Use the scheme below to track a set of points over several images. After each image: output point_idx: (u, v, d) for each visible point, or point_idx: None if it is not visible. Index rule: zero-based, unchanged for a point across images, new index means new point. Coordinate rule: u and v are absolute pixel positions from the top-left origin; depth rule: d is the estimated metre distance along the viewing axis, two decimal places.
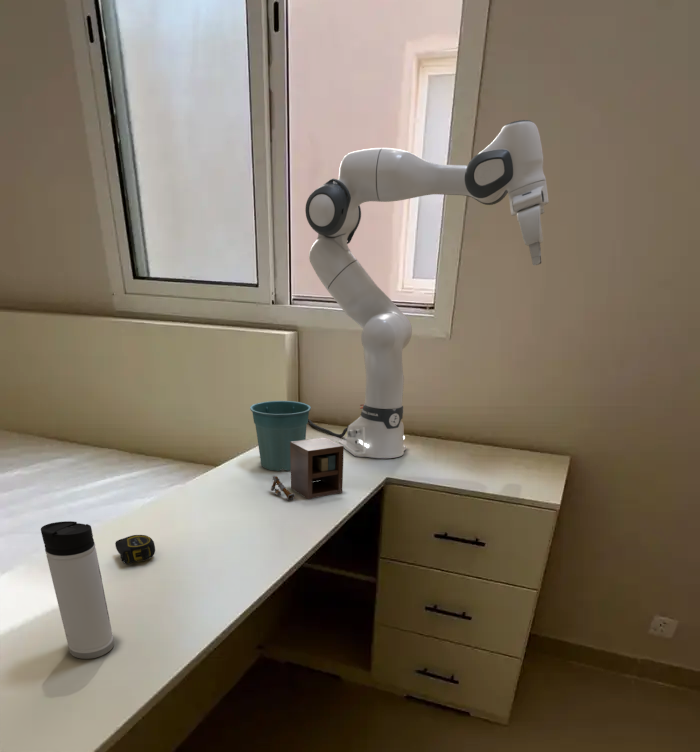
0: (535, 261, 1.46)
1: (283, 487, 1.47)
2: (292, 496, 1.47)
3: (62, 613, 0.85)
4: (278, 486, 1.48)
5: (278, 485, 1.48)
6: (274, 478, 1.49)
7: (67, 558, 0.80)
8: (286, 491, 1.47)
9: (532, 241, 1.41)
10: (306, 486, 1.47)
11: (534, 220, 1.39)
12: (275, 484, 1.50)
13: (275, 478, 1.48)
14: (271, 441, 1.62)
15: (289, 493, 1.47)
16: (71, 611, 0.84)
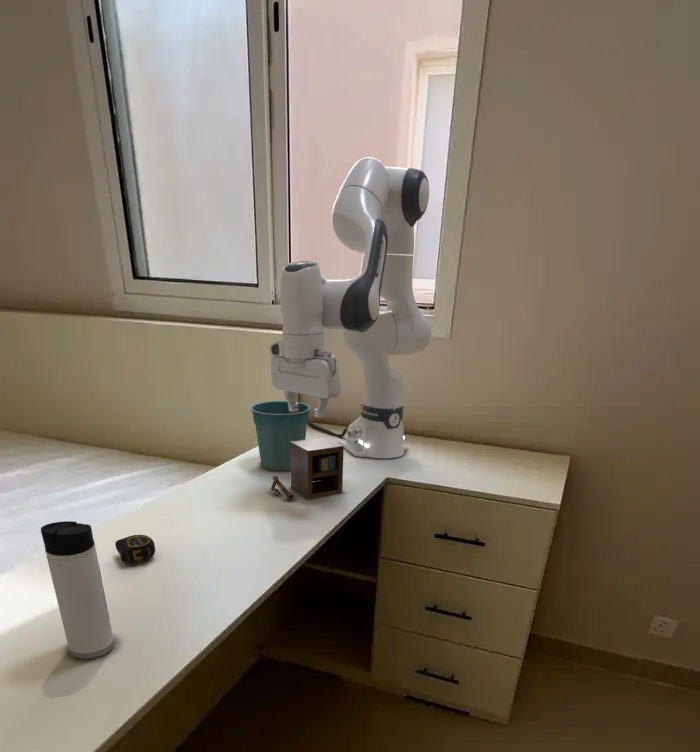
0: None
1: (283, 487, 1.47)
2: (292, 496, 1.47)
3: (62, 613, 0.85)
4: (278, 486, 1.48)
5: (278, 485, 1.48)
6: (274, 478, 1.49)
7: (67, 558, 0.80)
8: (286, 491, 1.47)
9: None
10: (306, 486, 1.47)
11: None
12: (275, 484, 1.50)
13: (275, 478, 1.48)
14: (271, 441, 1.62)
15: (289, 493, 1.47)
16: (71, 611, 0.84)
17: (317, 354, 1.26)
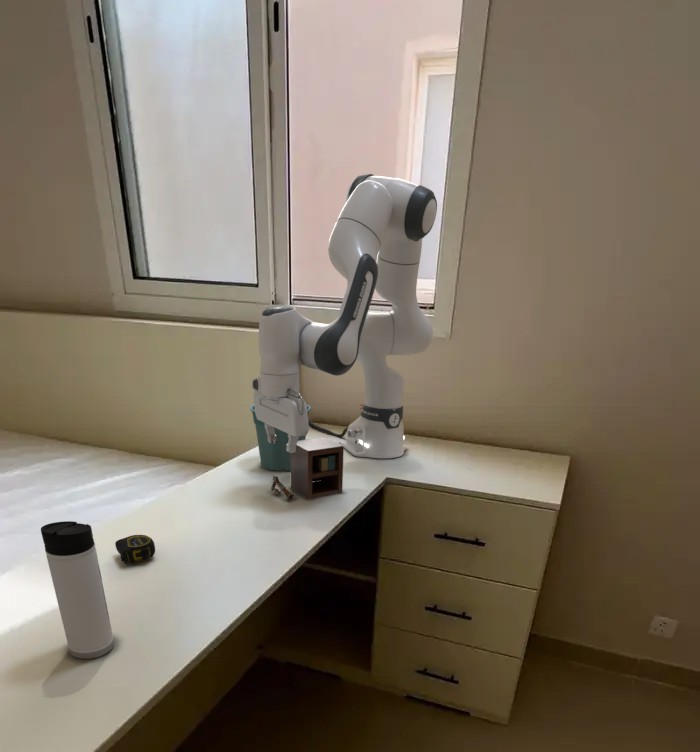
0: None
1: (283, 487, 1.47)
2: (292, 496, 1.47)
3: (62, 613, 0.85)
4: (278, 486, 1.48)
5: (278, 485, 1.48)
6: (274, 478, 1.49)
7: (67, 558, 0.80)
8: (286, 491, 1.47)
9: None
10: (306, 486, 1.47)
11: None
12: (275, 484, 1.50)
13: (275, 478, 1.48)
14: None
15: (289, 493, 1.47)
16: (71, 611, 0.84)
17: (289, 393, 1.32)
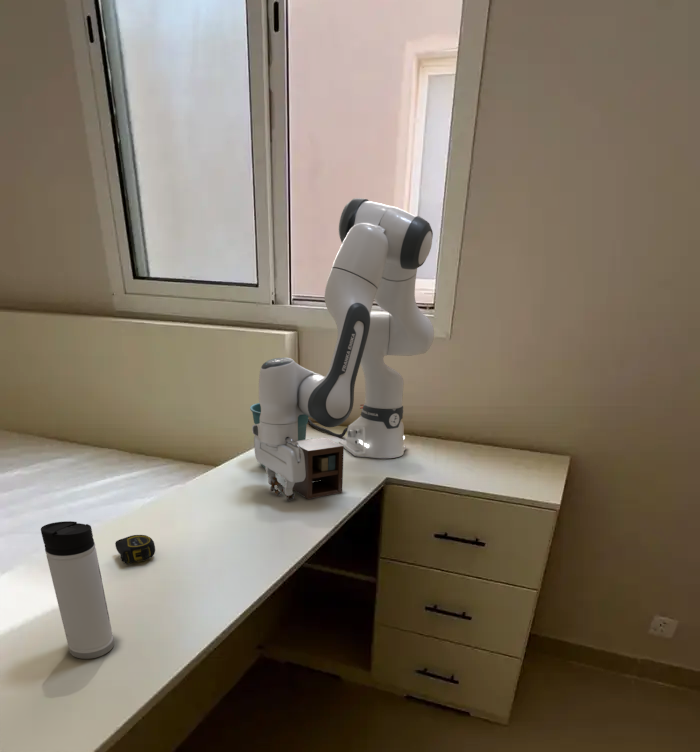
0: None
1: (282, 487, 1.47)
2: (292, 496, 1.47)
3: (62, 613, 0.85)
4: (277, 487, 1.48)
5: (277, 486, 1.48)
6: (272, 479, 1.48)
7: (67, 558, 0.80)
8: None
9: None
10: (306, 486, 1.47)
11: None
12: (274, 484, 1.50)
13: (273, 479, 1.48)
14: None
15: None
16: (71, 611, 0.84)
17: (287, 441, 1.38)
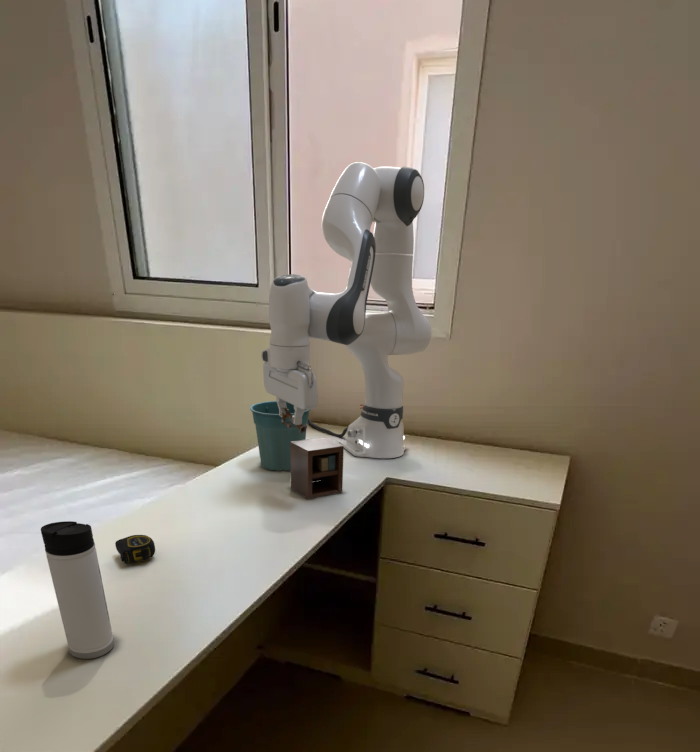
0: None
1: None
2: (304, 428, 1.40)
3: (62, 613, 0.85)
4: (289, 419, 1.41)
5: (289, 417, 1.41)
6: (284, 410, 1.41)
7: (67, 558, 0.80)
8: None
9: None
10: (306, 486, 1.47)
11: None
12: (285, 417, 1.43)
13: (285, 410, 1.41)
14: (271, 441, 1.62)
15: (301, 425, 1.40)
16: (71, 611, 0.84)
17: (298, 366, 1.31)
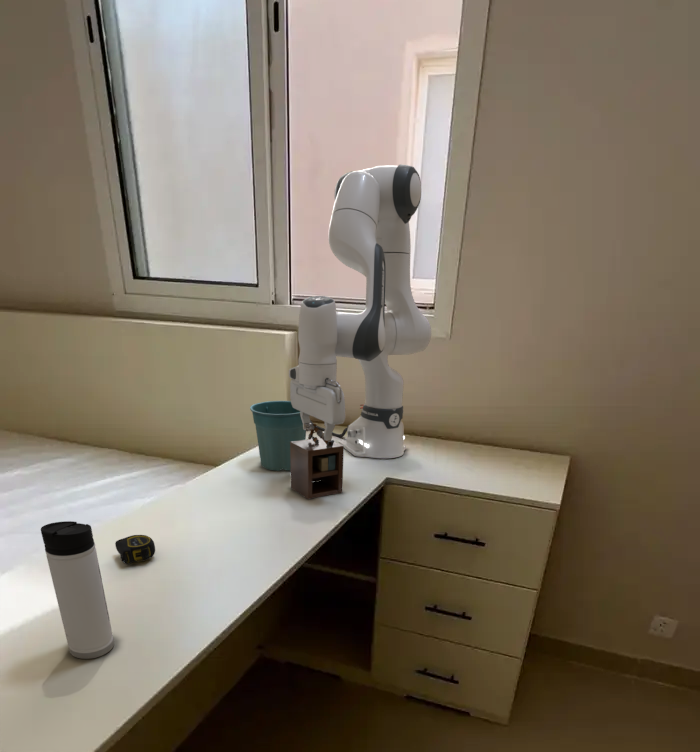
0: None
1: None
2: (331, 443, 1.46)
3: (62, 613, 0.85)
4: None
5: (317, 432, 1.46)
6: (312, 425, 1.47)
7: (67, 558, 0.80)
8: None
9: None
10: (306, 486, 1.47)
11: None
12: None
13: (313, 425, 1.47)
14: (271, 441, 1.62)
15: (328, 440, 1.45)
16: (71, 611, 0.84)
17: (327, 383, 1.36)
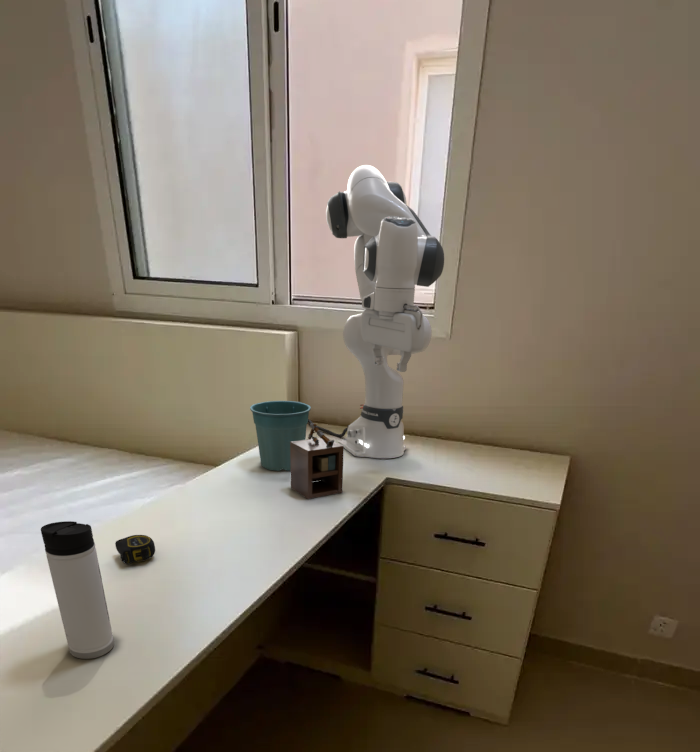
0: None
1: (322, 434, 1.46)
2: (331, 443, 1.46)
3: (62, 613, 0.85)
4: (317, 433, 1.46)
5: (317, 432, 1.46)
6: (312, 425, 1.47)
7: (67, 558, 0.80)
8: (325, 438, 1.45)
9: None
10: (306, 486, 1.47)
11: None
12: None
13: (313, 425, 1.47)
14: (271, 441, 1.62)
15: (328, 440, 1.45)
16: (71, 611, 0.84)
17: (405, 308, 1.31)
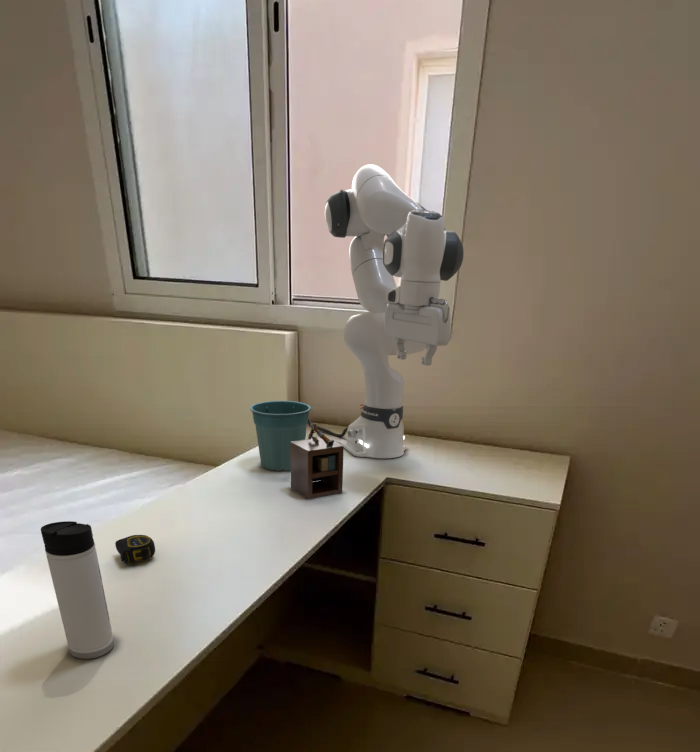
0: None
1: (322, 434, 1.46)
2: (331, 443, 1.46)
3: (62, 613, 0.85)
4: None
5: (317, 432, 1.46)
6: (312, 425, 1.47)
7: (67, 558, 0.80)
8: (325, 438, 1.45)
9: None
10: (306, 486, 1.47)
11: None
12: None
13: (313, 425, 1.47)
14: (271, 441, 1.62)
15: (328, 440, 1.45)
16: (71, 611, 0.84)
17: (432, 302, 1.32)
